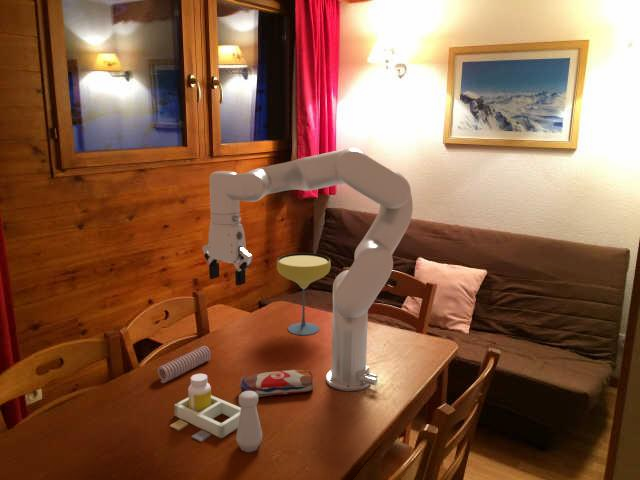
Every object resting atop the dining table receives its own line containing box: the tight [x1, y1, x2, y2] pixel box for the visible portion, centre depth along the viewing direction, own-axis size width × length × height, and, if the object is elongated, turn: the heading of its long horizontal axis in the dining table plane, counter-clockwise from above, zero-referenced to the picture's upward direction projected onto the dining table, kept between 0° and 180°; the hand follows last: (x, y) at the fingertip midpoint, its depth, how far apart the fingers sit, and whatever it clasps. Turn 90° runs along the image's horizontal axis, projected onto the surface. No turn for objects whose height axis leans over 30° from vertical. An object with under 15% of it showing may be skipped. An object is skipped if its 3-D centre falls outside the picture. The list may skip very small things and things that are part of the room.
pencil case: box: [238, 368, 315, 398], centre depth 141 cm, size 11×20×5 cm, turn 87°
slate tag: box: [191, 429, 212, 443], centre depth 121 cm, size 3×3×1 cm
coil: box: [157, 345, 212, 384], centre depth 152 cm, size 5×5×18 cm
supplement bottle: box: [187, 373, 212, 413], centre depth 130 cm, size 5×5×10 cm
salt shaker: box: [235, 391, 263, 453], centre depth 116 cm, size 6×6×13 cm
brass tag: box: [169, 419, 189, 432], centre depth 125 cm, size 3×3×1 cm
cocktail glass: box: [276, 252, 332, 336], centre depth 180 cm, size 18×18×25 cm
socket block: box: [173, 394, 241, 439], centre depth 128 cm, size 16×8×3 cm, turn 55°
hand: (227, 281), depth 143 cm, fingers open, 9 cm apart
